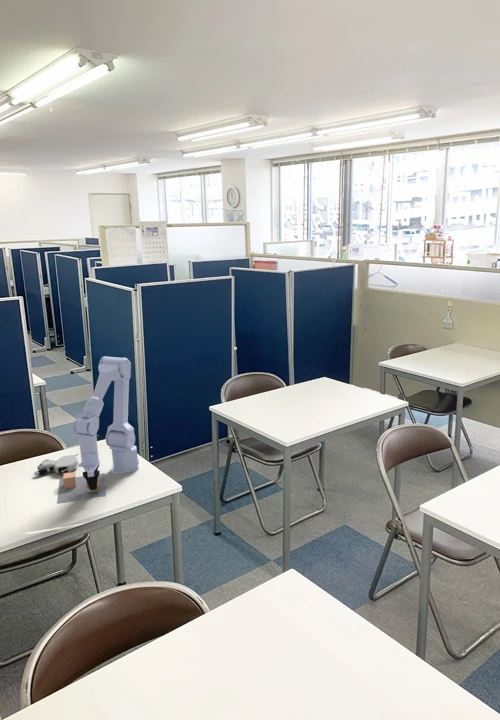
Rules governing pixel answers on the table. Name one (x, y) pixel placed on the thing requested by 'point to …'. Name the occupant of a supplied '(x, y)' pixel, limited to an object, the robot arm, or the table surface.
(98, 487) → the top brick
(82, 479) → the baseplate
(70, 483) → the base brick
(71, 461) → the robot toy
